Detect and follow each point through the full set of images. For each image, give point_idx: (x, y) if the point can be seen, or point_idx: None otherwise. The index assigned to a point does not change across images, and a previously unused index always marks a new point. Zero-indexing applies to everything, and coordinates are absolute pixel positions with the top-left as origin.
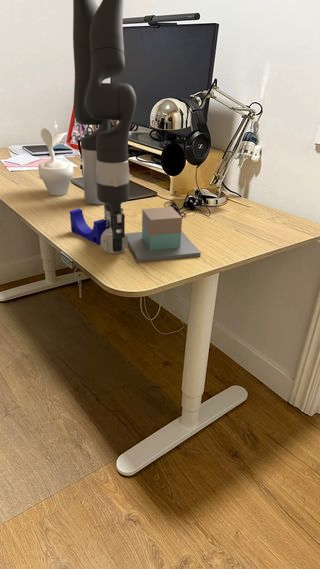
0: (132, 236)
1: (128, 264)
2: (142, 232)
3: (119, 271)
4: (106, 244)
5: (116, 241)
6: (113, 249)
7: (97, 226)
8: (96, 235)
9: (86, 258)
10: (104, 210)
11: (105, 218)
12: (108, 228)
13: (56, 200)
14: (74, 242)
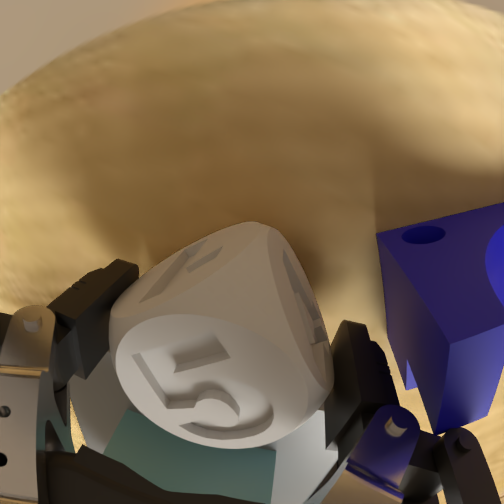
0: (318, 433)
1: (54, 271)
2: (266, 476)
3: (11, 203)
4: (197, 254)
5: (53, 311)
6: (112, 264)
7: (434, 317)
8: (418, 257)
9: (189, 64)
10: (494, 502)
11: (336, 483)
12: (353, 389)
13: None
14: (486, 105)
